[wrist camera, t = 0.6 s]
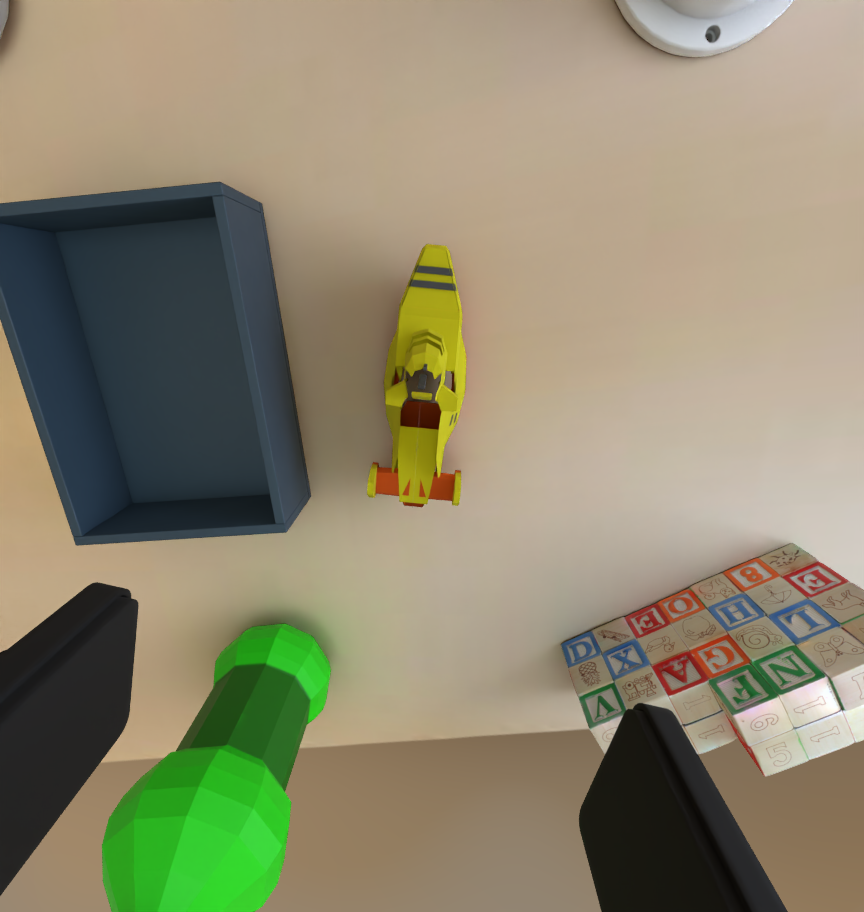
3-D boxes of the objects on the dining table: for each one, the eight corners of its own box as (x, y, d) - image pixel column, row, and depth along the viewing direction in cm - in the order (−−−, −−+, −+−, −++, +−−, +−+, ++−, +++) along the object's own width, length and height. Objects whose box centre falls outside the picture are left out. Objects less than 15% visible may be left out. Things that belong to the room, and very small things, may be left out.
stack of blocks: (587, 691, 46) (636, 825, 34) (558, 642, 44) (599, 765, 33) (816, 597, 42) (959, 711, 30) (794, 539, 41) (935, 637, 29)
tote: (49, 223, 35) (-39, 206, 28) (262, 203, 34) (220, 181, 28) (131, 508, 41) (75, 546, 35) (311, 496, 41) (286, 532, 34)
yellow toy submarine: (377, 484, 40) (355, 542, 31) (392, 247, 35) (372, 227, 25) (454, 492, 40) (458, 551, 31) (482, 256, 35) (496, 240, 25)
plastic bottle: (228, 685, 47) (4, 1086, 23) (236, 591, 44) (-16, 944, 20) (332, 703, 47) (218, 1116, 23) (347, 611, 44) (232, 981, 20)
